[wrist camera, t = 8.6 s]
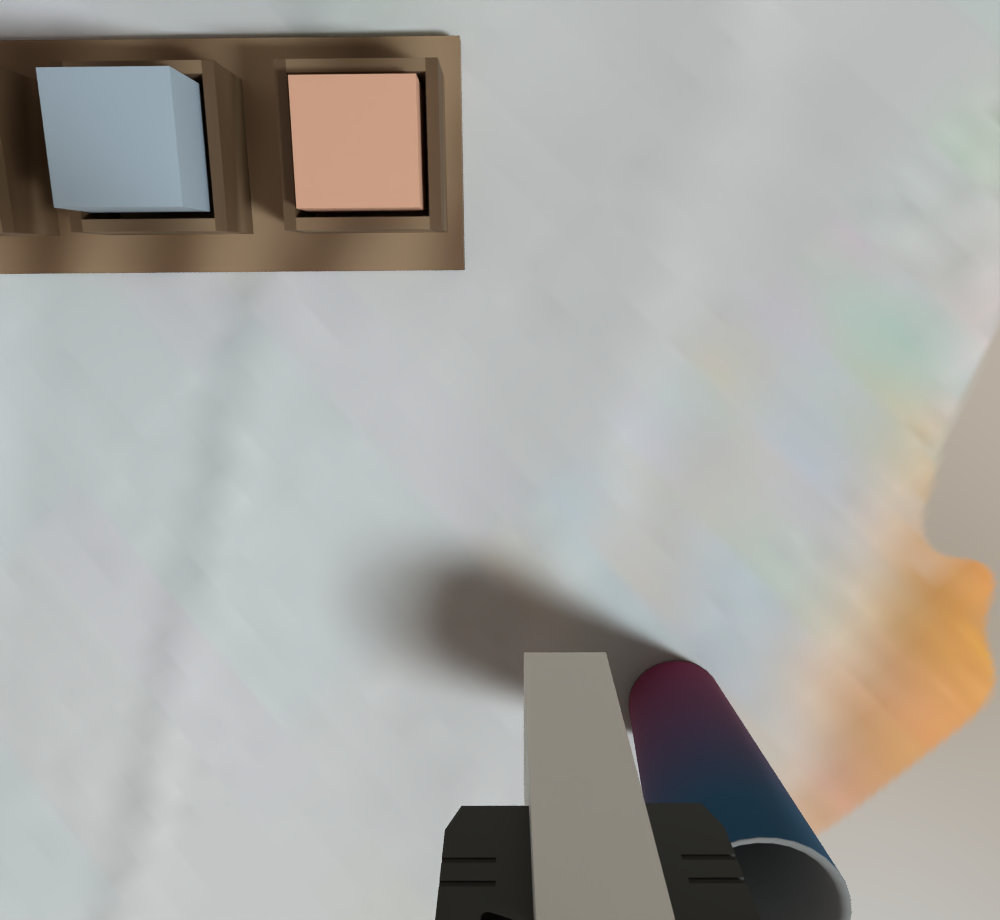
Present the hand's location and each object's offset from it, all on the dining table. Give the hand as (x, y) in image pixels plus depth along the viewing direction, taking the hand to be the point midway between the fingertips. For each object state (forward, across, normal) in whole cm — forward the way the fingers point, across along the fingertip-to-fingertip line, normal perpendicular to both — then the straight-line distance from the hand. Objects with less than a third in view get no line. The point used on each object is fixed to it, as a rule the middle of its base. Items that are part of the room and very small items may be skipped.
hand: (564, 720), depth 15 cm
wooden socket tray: (+26, -16, +13) cm, 34 cm away
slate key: (+22, -16, +13) cm, 30 cm away
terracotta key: (+24, -7, +13) cm, 28 cm away
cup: (+27, +8, -15) cm, 32 cm away
